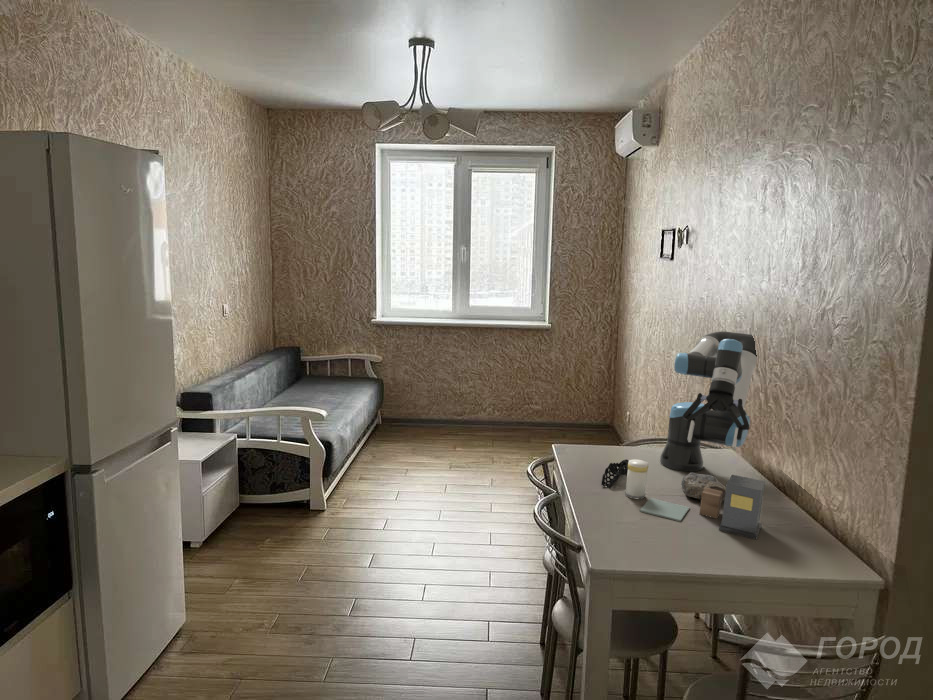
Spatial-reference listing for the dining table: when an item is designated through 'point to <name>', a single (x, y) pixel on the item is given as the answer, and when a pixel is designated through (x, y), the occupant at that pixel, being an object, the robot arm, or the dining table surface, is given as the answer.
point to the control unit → (742, 506)
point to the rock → (701, 485)
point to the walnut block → (711, 502)
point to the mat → (665, 509)
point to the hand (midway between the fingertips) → (710, 444)
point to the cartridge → (636, 478)
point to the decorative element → (614, 472)
